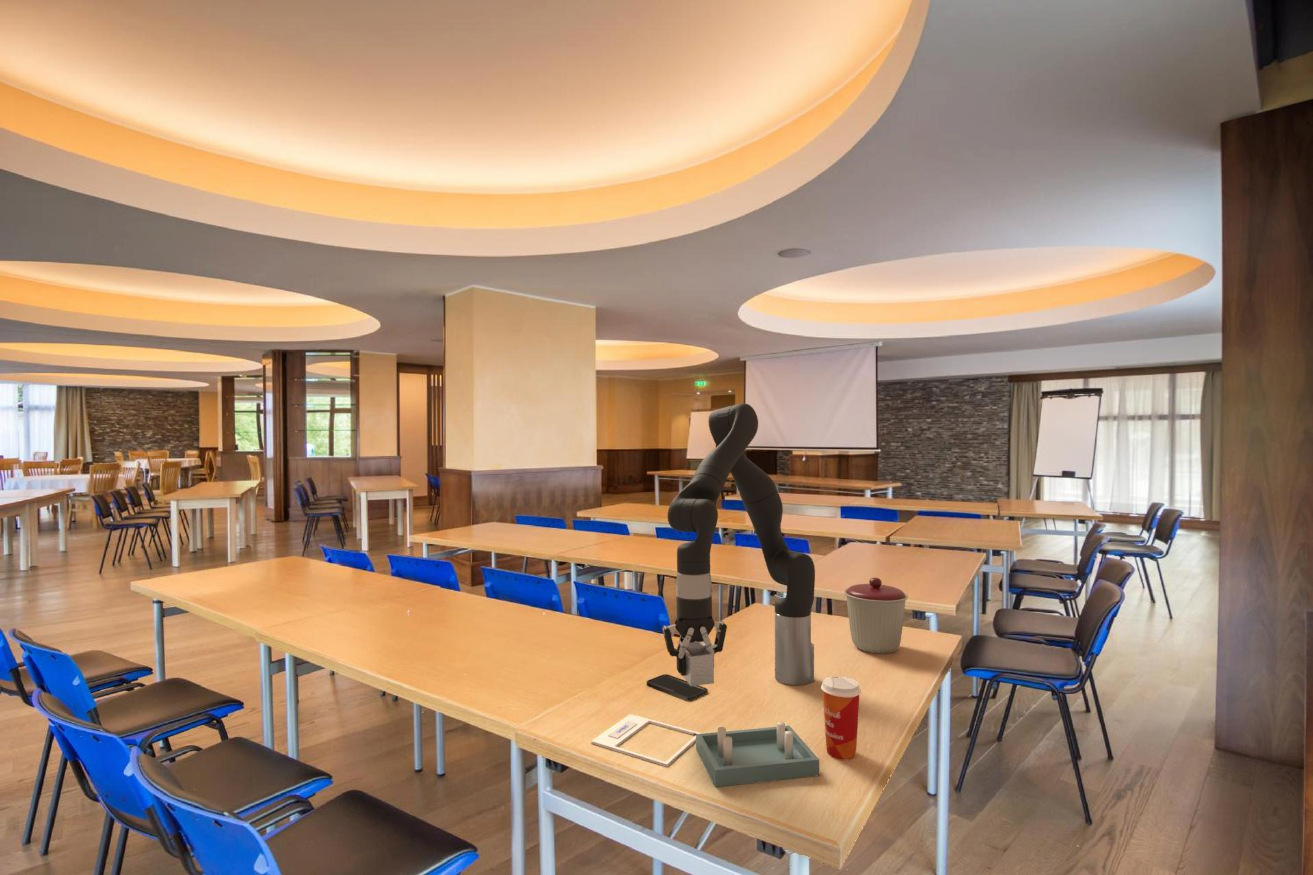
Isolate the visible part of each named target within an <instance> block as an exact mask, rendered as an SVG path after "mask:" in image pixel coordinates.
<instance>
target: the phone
mask: <svg viewBox="0 0 1313 875" xmlns="http://www.w3.org/2000/svg"><path fill="white" fill-rule="evenodd" d="M646 686H648V687H649V688H652V689H655V690H658V691H660V692H663V693H665V694H668V695H670V696H673V697H675V698H678V699H681V700H683V701H686V702H691V701H694V700H695V699H699V698H700V697H702V696H705V695H707V694H708V692H709V690H708V688H706V687H704V686H703V685H697V686H690V685H689V683H688V682H687V681H686V679H685V680H684V679H682V678H679V677H676V676H674V675H671V674H668V673H667V674H665V673H664V674H661V675H658V676H656V677H653V678H651V679H648V680H646Z"/></svg>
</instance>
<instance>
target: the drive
mask: <svg viewBox="0 0 1313 875" xmlns="http://www.w3.org/2000/svg"><path fill="white" fill-rule="evenodd" d="M684 658H685V676H682V677H683V678H684V679H685V681H687V682H688V683H689V685H690V686H697V685H699V686H703V685H704V686H705V685H711V684H715V654H714V655H713V653H712V652H711V651H710V650H709V649H707V648H706V646H704V644H703V642H697V641H695V642H693V643H689V645H688V648H687V649H686V651H685V654H684Z"/></svg>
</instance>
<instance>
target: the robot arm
mask: <svg viewBox="0 0 1313 875" xmlns="http://www.w3.org/2000/svg"><path fill="white" fill-rule="evenodd" d="M708 428H709V433H710V435H711V437H712V439H713V442H714V444H715V446H716V447H715V448H714V449H713V450H711V451H710V452H709V453H708V454H707V455H706V456H705V457H704V458H703V460H702V461H701V462H700V463H699V465H698V467H697V468H696V471H695V472H694V475H693V477H692V478H691V481H689V483H688V484H687V485H686V486H685V487H684V488H682V490H680V492H678V494H677V495H676V496H675V497H674V498H673V499H672V500H671V503H670V504H669V505H668V506H669V507H668V510H667V522H668V525H669V526H670V527H671V529H673V530H675V531H677V532H685V533H686V532H688V533H696V537H695V540H694V541H689V542H688V541H687V542H684V543H680V544H679V545H678V547H676V548H677V549H676V582H675V587H676V588H675V595H676V598H675V599H676V618H675V622H674V623H673V624H670V625H666V624H665V625H663V626H662V628H661V629H662V633H663V637H664V638H663V639H664V641H665V645H666V646H665V647H666V650H667V652H668V653H669V656H670V657H676V671H677V672H678V674H679V675H680V676H681V677H683V676H685V658H684V654H685V651H686V649H687V648H688V645H689V643H693V642H695V641H697V642H702V643H703V644H704V646H706V648H707V649H709V650H710V651H711V652H712V653H713V655H714V656H715V654H717V653H721V652H722V651H723V650H724V645H725V638H726V633H727V629H728V626H727V624H726V623H725V622H724V621H723V620H719V621H714V619H713V594H712V593H713V587H712V586H713V584H712V577H711V551H712V550H711V549H712V543H713V539H714V535H715V531H716V528H717V524H718V520H719V512H718V508H717V506H716V504H715V502H716V501H717V500H718V499H719V498H720V495H721V493H722V492H723V488H724V486H725V484H726V483H727V480H728V477H729V475H730V474H731V477H732V478H733V481H734V483H735V485H736V488H737V491H738V494H739V496H740V499H741V501H742V503H743V506H744V508H745V511H746V513H747V515H748V517H749V519H750V522H751V524H752V527H753V529H754V532H755V535H756V537H757V539H758V541H759V544H760V548H761V552H762V555H763V557H764V561H765V566H766V568H767V571H768V573H769V576H770V578H771V579H772V580H773V581H774V582H775V583H777V584H780V585H783V586H785V587H786V593H785V597H782V598H779V599H777V600H775V602H774V679H775V680H776V681H777V682H779V683H782V684H786V685H789V686H790V685H791V686H803V685H808V684H809V683H812V682H813V683H814V682H815V645H814V643H812V618H811V617H812V606H813V604H814V599H815V584H816V583H815V582H816V581H815V580H816V569H815V568H816V567H815V563H814V560H813V559H812V557H811V556H810V555H809V554H807V553H804V552H800V551H795V550H790V548H789V547H788V544H787V543H786V541H785V539H784V536H783V533H782V525H781V524H782V519H783V510H784V508H783V501H782V498H781V496H780V493H779V492H778V488H777V486H776V483H775V482H774V480H773V479H772V478H771V477H770V476H769V475H768V474H767V473H766V472H765V471H764V470H763V469H762V468H760V467H759V466H758V465H757V464H755V463H754V462H753V461H751V459H749V457H747V455H746V454H745V453H744V452H746V450H747V448H748V447H749V445H750V444H751V442H752V441H753V440H754V438H755V437H756V435H757V433H758V429H759V418H758V415H757V413H756V410H755V409H754V408H753V407H752V405H750V404H748V403H737V404H733V405H728V406H724V407H721V408H718V409H715V410H712V411H711V412H710V414H709V416H708ZM712 630H714V631H715V632H716V633H715V636H714V643H713V645H712V642H711V640H710V636H709V635H710V634H711V632H712ZM675 631H677V632H678V634H679V639H678V642H677V645H676V646H677V647H676V648H675V646H674V641H673V637H674V635H675Z"/></svg>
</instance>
